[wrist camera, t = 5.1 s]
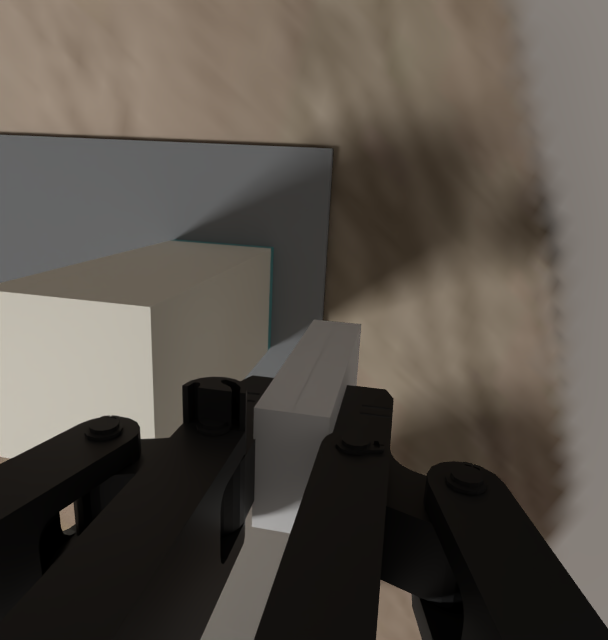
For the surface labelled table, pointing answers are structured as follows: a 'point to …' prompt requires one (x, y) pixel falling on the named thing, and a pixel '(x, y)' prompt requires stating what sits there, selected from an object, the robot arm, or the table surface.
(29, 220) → the mat
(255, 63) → the table surface
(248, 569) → the foam cup
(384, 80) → the table surface
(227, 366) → the cream teal rectangular block
